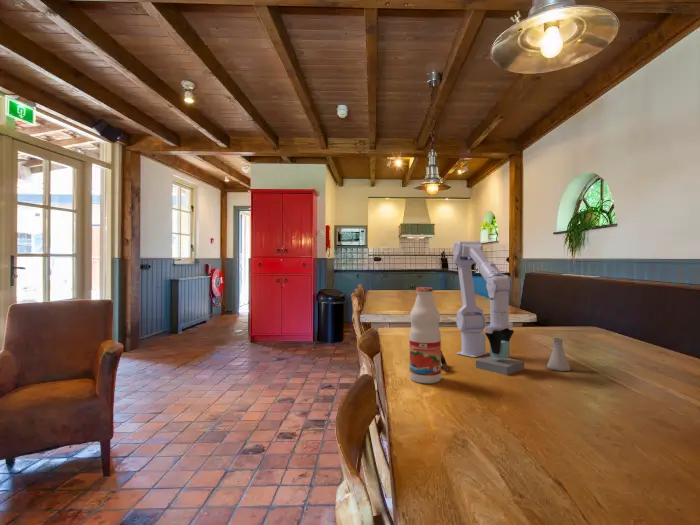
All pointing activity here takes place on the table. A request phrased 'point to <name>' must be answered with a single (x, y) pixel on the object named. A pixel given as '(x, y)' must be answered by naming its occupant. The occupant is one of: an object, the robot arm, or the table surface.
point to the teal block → (502, 350)
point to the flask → (558, 357)
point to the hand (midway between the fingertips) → (499, 352)
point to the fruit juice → (425, 339)
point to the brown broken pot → (443, 362)
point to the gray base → (500, 365)
